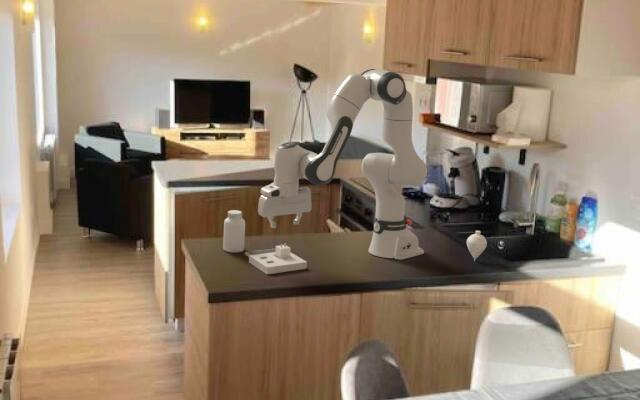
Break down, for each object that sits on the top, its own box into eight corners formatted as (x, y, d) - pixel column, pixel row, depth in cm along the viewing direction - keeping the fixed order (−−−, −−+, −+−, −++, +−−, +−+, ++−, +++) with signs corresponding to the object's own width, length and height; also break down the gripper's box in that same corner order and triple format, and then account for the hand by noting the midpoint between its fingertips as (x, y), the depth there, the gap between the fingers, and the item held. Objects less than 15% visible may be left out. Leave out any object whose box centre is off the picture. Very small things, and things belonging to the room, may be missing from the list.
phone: (275, 251, 260) (275, 248, 259) (284, 257, 254) (284, 253, 254) (244, 255, 253) (244, 251, 252) (253, 261, 247) (253, 257, 247)
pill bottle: (229, 254, 252) (230, 215, 248) (219, 248, 258) (220, 210, 255) (248, 251, 256) (249, 213, 253) (237, 245, 263) (238, 208, 259)
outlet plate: (287, 256, 253) (287, 249, 252) (306, 268, 241) (307, 261, 241) (248, 262, 244) (249, 254, 244) (266, 274, 233) (267, 266, 232)
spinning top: (474, 265, 257) (478, 234, 255) (460, 259, 263) (463, 229, 261) (488, 262, 261) (492, 232, 259) (474, 256, 268) (477, 227, 265)
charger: (284, 260, 249) (285, 241, 247) (289, 263, 246) (290, 244, 244) (274, 261, 247) (275, 242, 245) (280, 265, 244) (281, 245, 242)
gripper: (306, 184, 248) (305, 220, 252) (256, 189, 237) (255, 226, 241) (315, 188, 243) (313, 224, 246) (264, 193, 232) (263, 231, 236)
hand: (284, 225), depth 244 cm, fingers open, 8 cm apart
